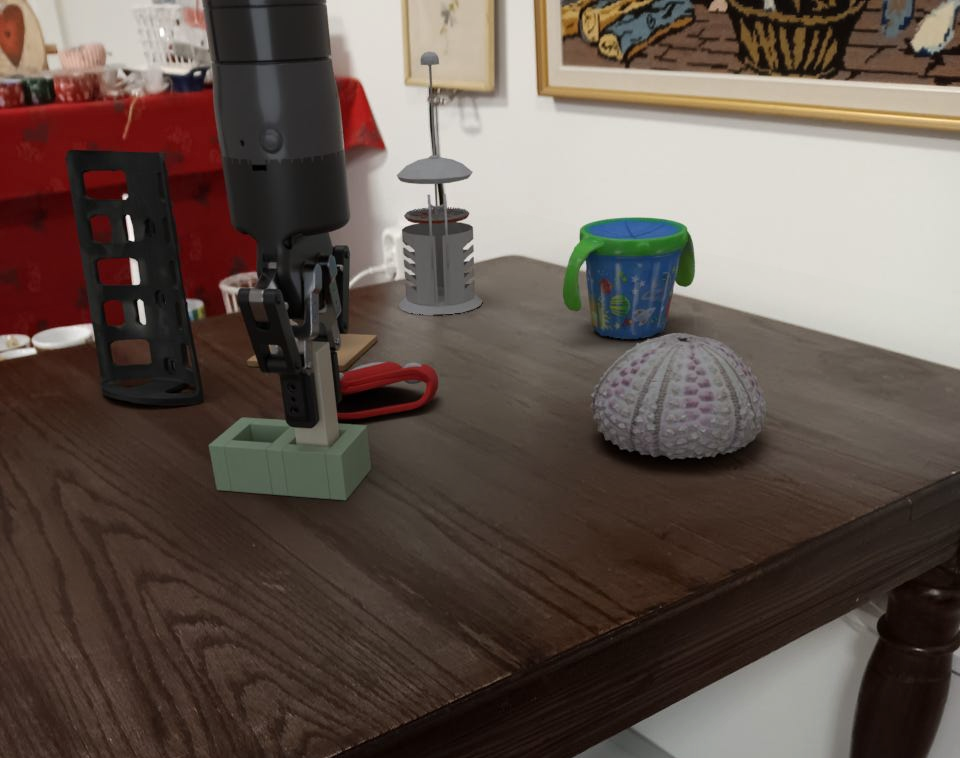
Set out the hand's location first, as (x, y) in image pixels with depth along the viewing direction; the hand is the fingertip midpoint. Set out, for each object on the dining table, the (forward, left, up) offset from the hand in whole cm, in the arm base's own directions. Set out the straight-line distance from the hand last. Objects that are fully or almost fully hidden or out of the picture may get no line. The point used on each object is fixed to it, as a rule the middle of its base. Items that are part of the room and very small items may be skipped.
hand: (314, 413), depth 70 cm
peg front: (0, 0, -5) cm, 5 cm away
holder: (-22, +17, -5) cm, 28 cm away
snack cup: (+18, +42, -5) cm, 45 cm away
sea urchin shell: (+25, +13, -5) cm, 28 cm away
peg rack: (-2, 0, -5) cm, 6 cm away
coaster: (-12, +30, -5) cm, 32 cm away
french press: (-4, +49, -5) cm, 49 cm away
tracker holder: (-2, +16, -5) cm, 17 cm away
